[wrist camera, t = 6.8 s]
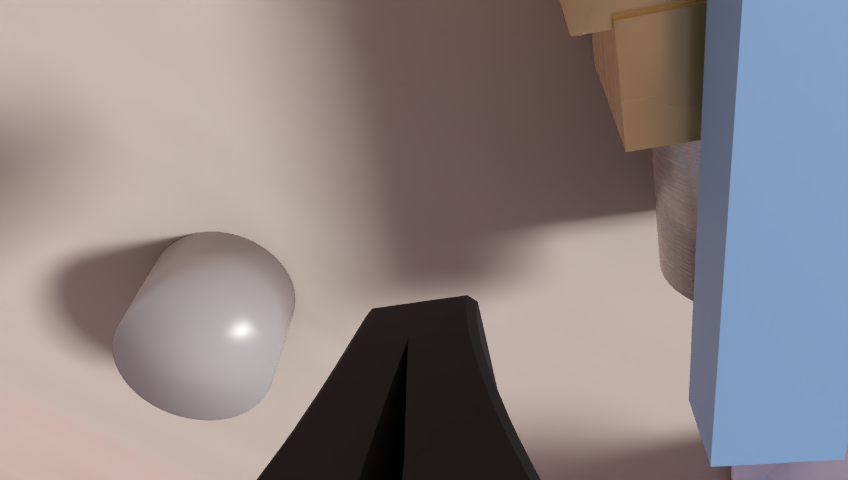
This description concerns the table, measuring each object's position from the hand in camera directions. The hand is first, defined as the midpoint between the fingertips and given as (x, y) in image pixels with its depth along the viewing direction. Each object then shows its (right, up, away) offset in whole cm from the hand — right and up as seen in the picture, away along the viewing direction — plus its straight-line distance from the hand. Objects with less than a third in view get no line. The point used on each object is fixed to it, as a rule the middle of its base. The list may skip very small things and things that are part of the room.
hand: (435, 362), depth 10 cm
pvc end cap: (-6, 0, +12) cm, 13 cm away
